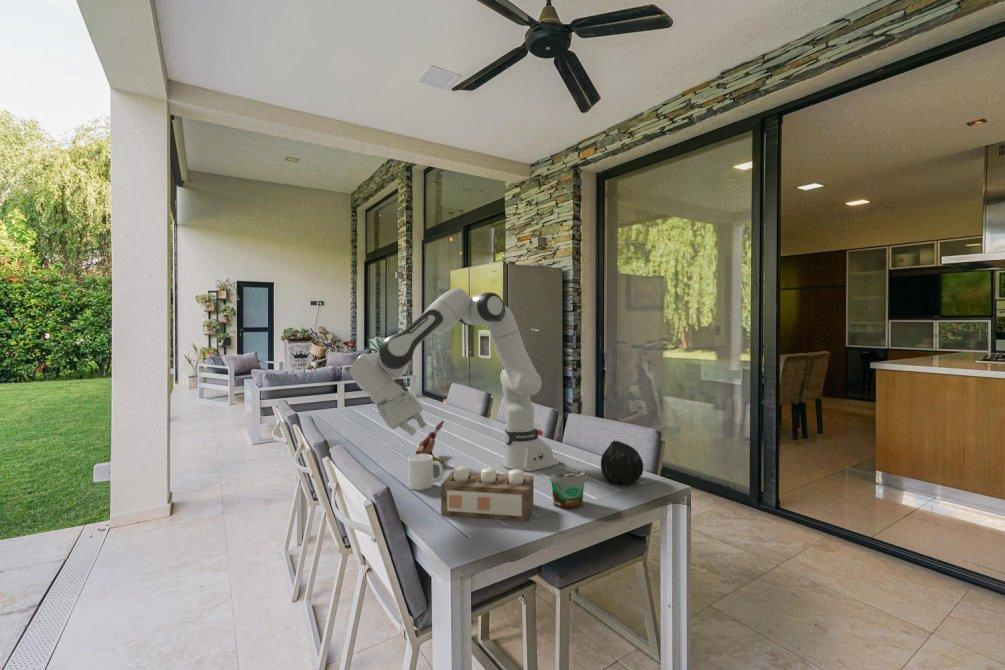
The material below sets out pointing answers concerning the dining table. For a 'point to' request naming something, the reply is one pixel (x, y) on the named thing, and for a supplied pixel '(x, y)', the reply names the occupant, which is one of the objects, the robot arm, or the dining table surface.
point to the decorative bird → (429, 443)
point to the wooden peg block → (498, 487)
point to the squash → (621, 463)
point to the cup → (422, 471)
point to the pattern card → (484, 503)
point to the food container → (568, 489)
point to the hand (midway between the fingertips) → (419, 430)
